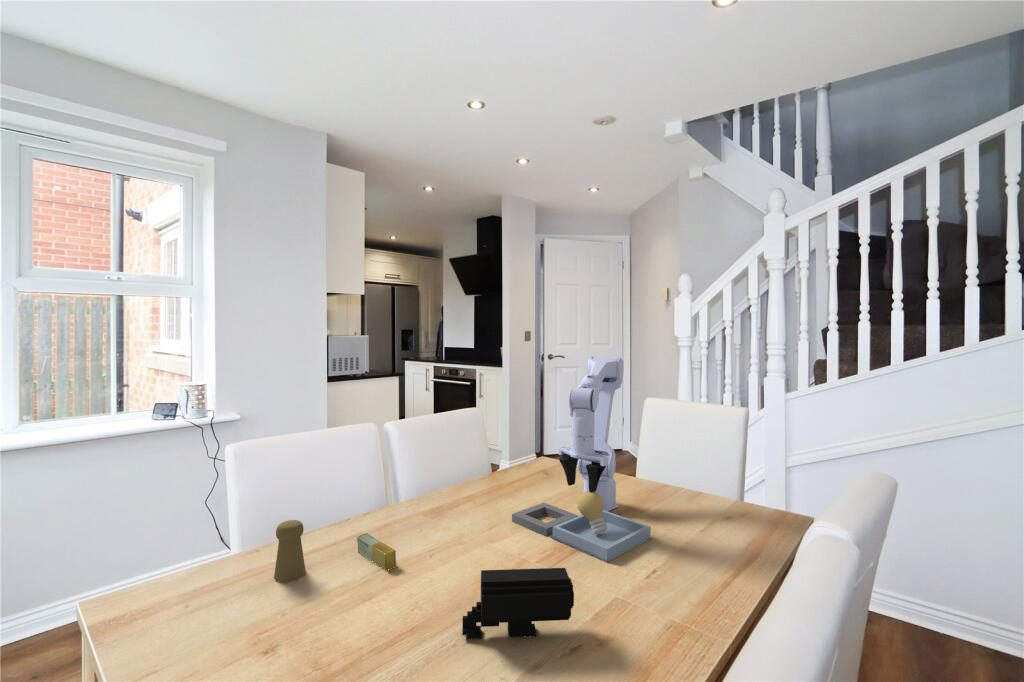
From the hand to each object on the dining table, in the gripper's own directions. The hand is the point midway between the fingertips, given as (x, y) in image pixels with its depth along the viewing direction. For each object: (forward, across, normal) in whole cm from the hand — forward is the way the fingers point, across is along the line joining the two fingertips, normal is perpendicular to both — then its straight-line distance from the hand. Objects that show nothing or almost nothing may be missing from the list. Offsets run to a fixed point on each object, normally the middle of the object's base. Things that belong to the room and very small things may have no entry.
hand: (581, 488), depth 125 cm
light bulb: (+9, +7, -1) cm, 12 cm away
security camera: (+12, +19, -41) cm, 47 cm away
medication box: (+12, -20, -46) cm, 52 cm away
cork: (+12, -26, -63) cm, 69 cm away
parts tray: (+11, +7, 0) cm, 13 cm away
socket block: (+11, -9, -4) cm, 14 cm away
